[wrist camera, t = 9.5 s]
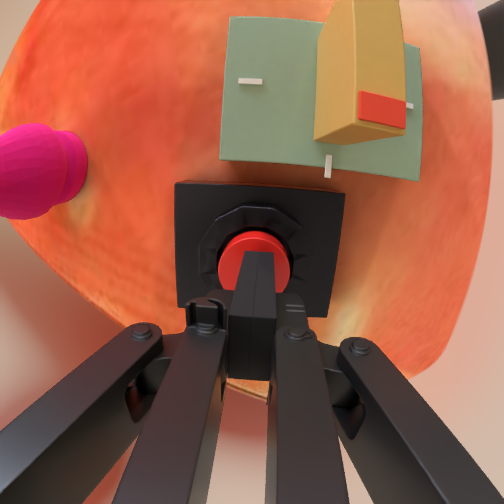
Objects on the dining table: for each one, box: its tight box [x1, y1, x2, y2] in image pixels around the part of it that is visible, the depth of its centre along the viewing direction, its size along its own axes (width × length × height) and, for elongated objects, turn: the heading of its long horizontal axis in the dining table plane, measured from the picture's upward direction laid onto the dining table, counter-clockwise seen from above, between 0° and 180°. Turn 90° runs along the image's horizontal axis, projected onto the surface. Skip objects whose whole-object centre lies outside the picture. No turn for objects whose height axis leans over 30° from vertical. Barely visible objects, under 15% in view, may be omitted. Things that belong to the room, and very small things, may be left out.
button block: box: [174, 181, 345, 318], centre depth 19 cm, size 11×9×4 cm
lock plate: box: [219, 17, 423, 182], centre depth 16 cm, size 13×11×3 cm
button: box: [218, 231, 290, 293], centre depth 17 cm, size 4×4×2 cm
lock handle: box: [313, 0, 406, 145], centre depth 11 cm, size 7×2×8 cm, turn 176°
